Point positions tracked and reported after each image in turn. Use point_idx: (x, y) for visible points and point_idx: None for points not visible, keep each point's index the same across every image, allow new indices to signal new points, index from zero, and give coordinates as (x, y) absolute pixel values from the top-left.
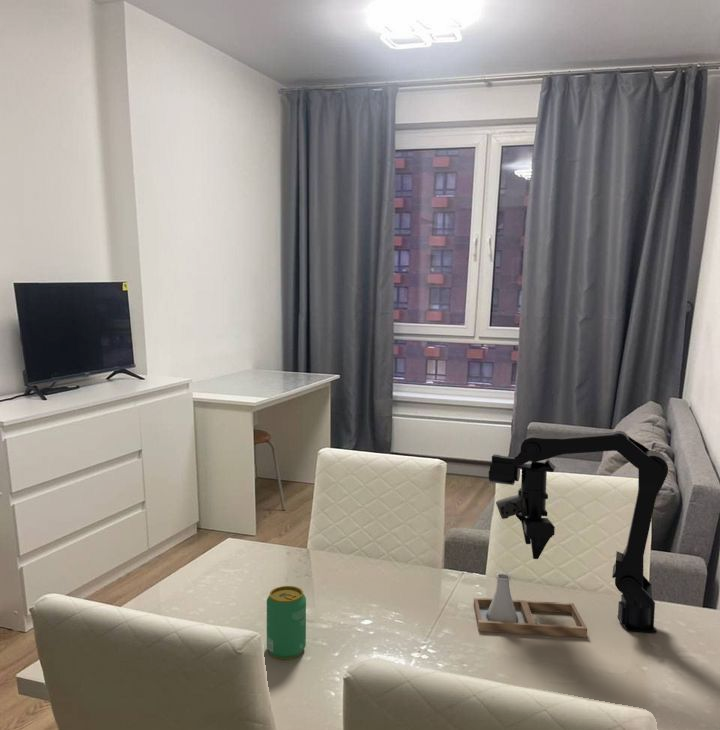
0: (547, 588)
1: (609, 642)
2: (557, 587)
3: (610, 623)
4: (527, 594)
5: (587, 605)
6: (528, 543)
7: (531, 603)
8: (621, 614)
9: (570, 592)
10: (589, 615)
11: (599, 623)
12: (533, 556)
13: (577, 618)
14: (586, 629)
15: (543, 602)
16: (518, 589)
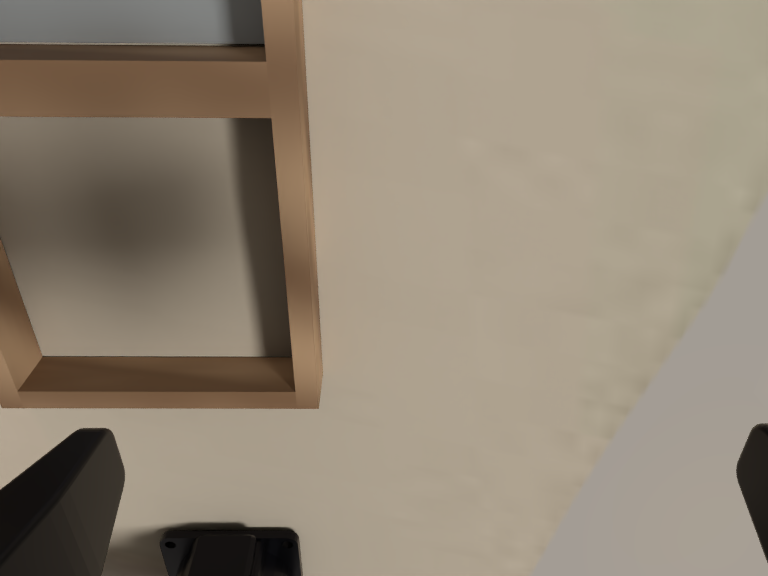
0: (636, 301)
1: (26, 449)
2: (643, 358)
3: (227, 492)
4: (549, 151)
5: (409, 448)
6: (747, 462)
7: (276, 150)
8: (194, 574)
9: (569, 408)
10: (292, 433)
11: (213, 453)
12: (44, 460)
13: (132, 386)
14: (2, 401)
15: (292, 240)
16: (641, 96)
